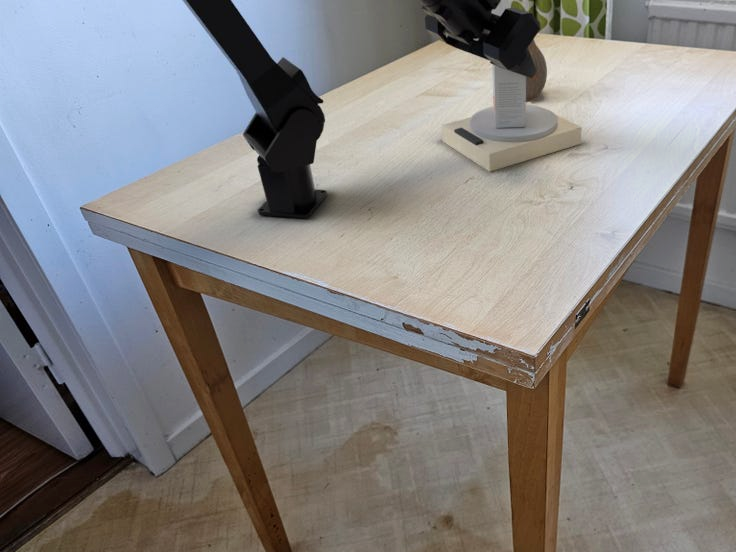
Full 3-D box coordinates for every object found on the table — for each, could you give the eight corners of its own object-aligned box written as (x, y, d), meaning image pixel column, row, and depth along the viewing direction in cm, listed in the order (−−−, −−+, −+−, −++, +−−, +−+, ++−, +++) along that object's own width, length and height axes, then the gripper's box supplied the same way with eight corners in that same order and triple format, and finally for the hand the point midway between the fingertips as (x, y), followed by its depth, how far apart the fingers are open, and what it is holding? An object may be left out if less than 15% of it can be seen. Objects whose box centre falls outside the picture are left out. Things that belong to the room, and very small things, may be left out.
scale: (489, 171, 86) (489, 148, 84) (442, 141, 94) (440, 119, 92) (580, 144, 92) (582, 121, 90) (528, 117, 100) (529, 96, 98)
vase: (530, 106, 104) (531, 46, 98) (495, 98, 107) (493, 40, 101) (554, 93, 108) (556, 35, 102) (519, 86, 111) (519, 29, 105)
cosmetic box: (492, 112, 93) (491, 19, 86) (523, 111, 93) (524, 18, 86) (494, 128, 89) (492, 31, 81) (526, 127, 89) (527, 30, 81)
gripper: (528, -72, 68) (601, 28, 80) (439, -88, 81) (514, 0, 92) (465, 24, 70) (546, 108, 82) (388, -6, 82) (467, 70, 94)
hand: (517, 67), depth 87 cm, fingers closed on cosmetic box, 7 cm apart
